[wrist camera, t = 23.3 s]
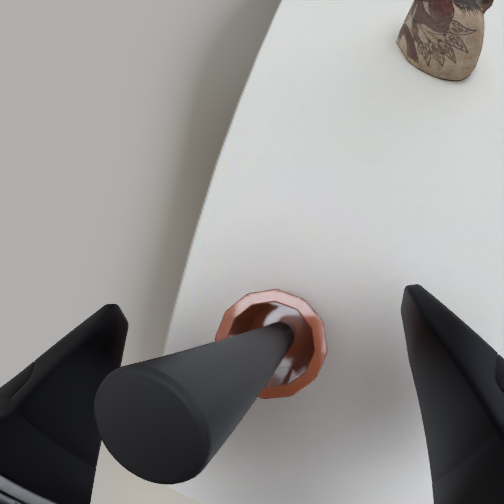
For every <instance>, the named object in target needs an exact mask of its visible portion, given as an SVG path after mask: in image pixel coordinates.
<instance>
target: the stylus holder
mask: <svg viewBox="0 0 504 504" xmlns="http://www.w3.org/2000/svg"><path fill="white" fill-rule="evenodd" d="M278 321H285V322H288V323H290V324H291V325H292V326H293V327H294V329H295V332H296V337H295V341H294V342H293V344H292V346H291V347H290V349H289V350H288V352H287V353H286V355H285V357H284V358H283V360H282V361H281V363H280V364H279V366H278V367H277V369H276V370H275V372H274V373H273V375H272V376H271V378H270V379H269V381H268V382H267V384H266V385H265V387H264V388H263V390H262V391H261V392H260V394H259V395H258V397H259V398H261V399H270V398H280V397H289V396H292V395H294V394H296V393H297V392H299V391H300V390H301V389H303V388H304V387H306V386H307V385H308V384H310V383H311V382H312V381H314V380H315V378H317V375H318V373H319V371H320V369H321V366H322V364H323V362H324V359H325V357H326V355H327V343H326V336H325V329H324V324H323V321H322V320H321V318H320V317H319V316H318V315H317V313H316V312H315V311H314V310H313V308H312V307H311V306H310V305H309V303H308V302H307V301H306V300H304V299H303V298H300V297H297V296H295V295H292V294H289V293H287V292H284V291H281V290H279V289H272V290H266V291H260V292H254V293H249V294H246V295H245V296H244V297H243V298H241V299H240V300H239V301H238V302H236V303H235V304H234V305H233V306H231V307H230V308H229V309H228V310H226V312H225V313H224V316H223V319H222V321H221V324H220V326H219V329H218V331H217V334H216V338H215V342H216V341H219V340H222V339H226V338H229V337H232V336H235V335H239V334H242V333H245V332H248V331H251V330H254V329H257V328H260V327H263V326H266V325H269V324H272V323H275V322H278Z"/></svg>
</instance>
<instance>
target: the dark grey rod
mask: <svg viewBox="0 0 504 504" xmlns="http://www.w3.org/2000/svg"><path fill="white" fill-rule="evenodd" d="M295 337H296V332H295V329H294V327H293V326H292V325H291V324H290V323H288V322H285V321H278V322H275V323H272V324H269V325H266V326H263V327H260V328H257V329H254V330H251V331H248V332H245V333H242V334H239V335H235V336H232V337H229V338H226V339H222V340H219V341H216V342H212V343H209V344H206V345H202V346H199V347H195V348H192V349H188V350H184V351H181V352H177V353H174V354H170V355H166V356H162V357H158V358H154V359H151V360H147V361H143V362H138V363H134V364H130V365H126V366H122V367H120V368H117V369H115V370H114V371H112V372H111V373H110V374H109V375H108V376H106V378H105V379H104V380H103V382H102V383H101V384H100V386H99V388H98V390H97V393H96V396H95V401H94V417H95V422H96V426H97V429H98V432H99V435H100V437H101V439H102V441H103V443H104V445H105V446H106V448H107V449H108V451H109V452H110V453H111V455H112V456H113V457H114V458H115V459H116V460H117V461H118V462H119V463H120V464H121V465H122V466H123V467H125V468H126V469H127V470H128V471H130V472H131V473H133V474H135V475H136V476H138V477H140V478H142V479H145V480H147V481H150V482H154V483H159V484H176V483H181V482H185V481H188V480H190V479H192V478H194V477H196V476H197V475H198V474H199V473H200V472H201V471H202V470H203V469H204V468H205V467H206V465H207V464H208V463H209V462H210V460H211V459H212V458H213V456H214V455H215V454H216V453H217V451H218V450H219V449H220V447H221V446H222V445H223V444H224V442H225V441H226V440H227V438H228V437H229V436H230V434H231V433H232V432H233V430H234V429H235V428H236V426H237V425H238V423H239V422H240V421H241V419H242V418H243V417H244V415H245V414H246V412H247V411H248V410H249V408H250V407H251V405H252V404H253V403H254V401H255V400H256V398H257V397H258V395H259V394H260V392H261V391H262V390H263V388H264V387H265V385H266V384H267V382H268V381H269V379H270V378H271V376H272V375H273V373H274V372H275V370H276V369H277V367H278V366H279V364H280V363H281V361H282V360H283V358H284V357H285V355H286V353H287V352H288V350H289V349H290V347H291V346H292V344H293V342H294V341H295Z"/></svg>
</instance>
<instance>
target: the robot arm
mask: <svg viewBox="0 0 504 504" xmlns="http://www.w3.org/2000/svg"><path fill="white" fill-rule="evenodd" d="M401 315H402V321H403V326H404V332H405V338H406V344H407V351H408V357H409V362H410V366H411V370H412V374H413V378H414V383H415V387H416V391H417V396H418V400H419V405H420V410H421V414H422V420H423V425H424V430H425V436H426V442H427V448H428V455H429V462H430V469H431V477H432V488H433V499H434V504H504V359H503V358H502V357H501V356H500V355H498V353H497V352H496V351H495V350H494V349H493V348H492V347H491V346H490V345H489V344H487V343H486V342H485V341H484V340H483V339H482V338H481V337H480V336H479V335H478V334H477V333H475V332H474V331H473V330H472V329H471V328H470V327H469V326H468V325H467V324H465V323H464V322H463V321H462V320H461V319H460V318H459V317H457V316H456V315H455V314H454V313H453V312H452V311H450V310H449V309H448V308H447V307H446V306H445V305H443V304H442V303H441V302H440V301H439V300H438V299H436V298H435V297H434V296H433V295H431V294H430V293H429V292H428V291H427V290H425V289H424V288H423V287H422V286H420V285H418V284H415V285H408V286H406V287H405V289H404V294H403V300H402V305H401ZM127 332H128V321H127V319H126V318H125V316H124V314H123V313H122V311H121V309H120V307H119V306H118V305H116V304H107V305H105V306H103V307H102V308H101V309H100V310H98V311H97V312H96V313H94V314H93V315H92V316H90V317H89V318H88V319H87V320H85V321H84V322H83V323H81V324H80V325H79V326H78V327H76V328H75V329H74V330H72V331H71V332H70V333H69V334H67V335H66V336H65V337H63V338H62V339H61V340H60V341H58V342H57V343H56V344H55V345H53V346H52V347H51V348H50V349H49V350H47V351H46V352H45V353H44V354H42V355H41V356H40V357H39V358H37V359H36V360H35V362H33V363H31V364H30V365H29V366H28V367H26V369H24V370H23V371H22V372H20V373H19V374H18V375H16V376H15V377H14V378H13V379H11V380H10V381H9V382H7V383H6V384H5V385H3V386H2V387H0V504H90V501H91V495H92V488H93V483H94V477H95V471H96V465H97V460H98V455H99V450H100V446H101V441H102V439H101V437H100V435H99V432H98V429H97V426H96V422H95V417H94V401H95V396H96V393H97V390H98V388H99V386H100V384H101V383H102V382H103V380H104V379H105V378H106V376H108V375H109V374H110V373H111V372H112V371H114V370H115V369H117V368H120V366H121V362H122V356H123V351H124V346H125V341H126V336H127Z"/></svg>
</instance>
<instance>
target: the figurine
mask: <svg viewBox="0 0 504 504" xmlns="http://www.w3.org/2000/svg"><path fill="white" fill-rule="evenodd" d="M492 3H493V0H414V2H413V4H412V6H411V8H410V10H409V13H408V15H407V17H406V19H405V21H404V23H403V25H402V28H401V30H400V33H399V36H398V39H397V44H398V46H399V47H400V49H401V51H402V53H403V54H404V55H405V57H406V58H407V59H408V61H409V62H410V63H411V64H412V65H414V66H415V67H417V68H418V69H420V70H422V71H424V72H426V73H428V74H430V75H432V76H434V77H438V78H441V79H448V80H462V79H464V78H466V77H467V76H469V75H470V74H471V72H472V71H473V70H474V68H475V67H476V64H477V62H478V59H479V56H480V53H481V49H482V44H483V37H484V13H485V12H486V10H487V9H488V8H490V7H491V6H492Z"/></svg>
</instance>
